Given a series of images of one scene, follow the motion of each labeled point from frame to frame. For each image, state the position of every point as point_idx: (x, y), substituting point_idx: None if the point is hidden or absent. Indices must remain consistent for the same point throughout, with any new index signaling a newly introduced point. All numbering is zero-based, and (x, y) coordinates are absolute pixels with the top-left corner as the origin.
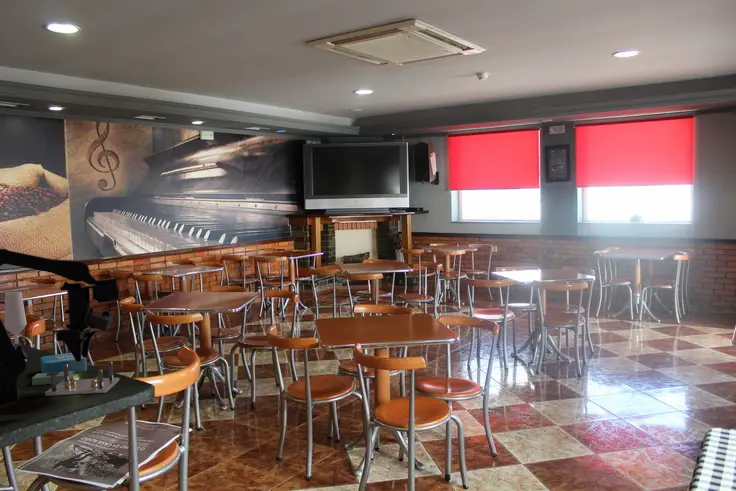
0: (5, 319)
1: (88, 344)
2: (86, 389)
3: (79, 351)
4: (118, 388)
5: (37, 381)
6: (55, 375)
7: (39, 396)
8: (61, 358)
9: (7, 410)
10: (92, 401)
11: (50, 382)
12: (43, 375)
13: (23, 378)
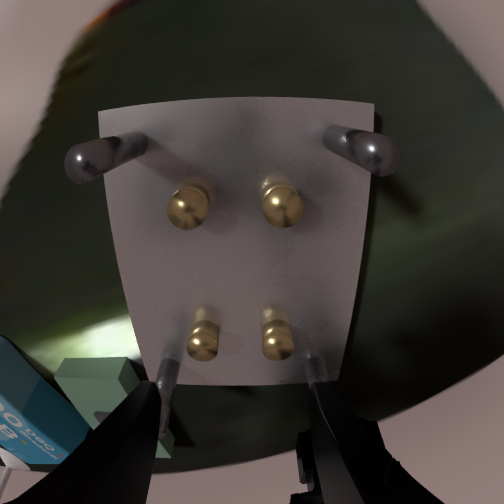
0: None
1: (107, 476)
2: (354, 218)
3: (384, 456)
4: (285, 50)
5: (167, 439)
6: None
7: (333, 383)
8: (13, 430)
9: (451, 386)
10: (485, 141)
11: None
12: None
13: None
